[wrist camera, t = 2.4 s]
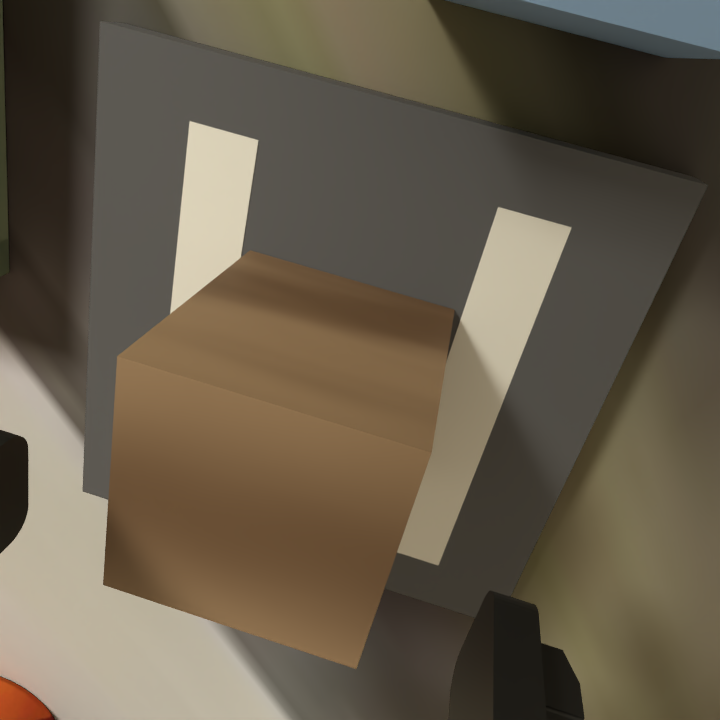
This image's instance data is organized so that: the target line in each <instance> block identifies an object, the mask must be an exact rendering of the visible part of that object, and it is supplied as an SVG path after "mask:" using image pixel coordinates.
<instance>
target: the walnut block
mask: <svg viewBox="0 0 720 720" xmlns="http://www.w3.org/2000/svg"><path fill="white" fill-rule="evenodd" d="M454 311H455V310H454V309H450V308H447V307H444V306H440V305H437V304H433V303H430V302H426V301H423V300H420V299H416V298H413V297H409V296H406V295H402V294H399V293H395V292H392V291H389V290H385V289H382V288H378V287H375V286H371V285H368V284H364V283H361V282H358V281H354V280H351V279H347V278H344V277H340V276H337V275H334V274H330V273H327V272H323V271H320V270H316V269H313V268H309V267H306V266H303V265H299V264H296V263H292V262H289V261H285V260H282V259H279V258H275V257H272V256H268V255H265V254H261V253H258V252H254V251H251V250H250V251H249V252H247V253H246V254H245V255H244V256H242V257H241V258H240V259H239V260H237V261H236V262H235V263H234V264H232V265H231V266H230V267H228V268H227V269H226V270H225V271H223V272H222V273H221V274H220V275H218V276H217V277H216V278H215V279H213V280H212V281H211V282H210V283H208V284H207V285H206V286H205V287H203V288H202V289H201V290H200V291H198V292H197V293H196V294H195V295H193V296H192V297H191V298H190V299H188V300H187V301H186V302H185V303H183V304H182V305H181V306H180V307H178V308H177V309H176V310H175V311H173V312H172V313H171V314H170V315H168V316H167V317H166V318H165V319H163V320H162V321H161V322H160V323H158V324H157V325H156V326H154V327H153V328H152V329H151V330H149V331H148V332H147V333H146V334H144V335H143V336H142V337H141V338H139V339H138V340H137V341H136V342H134V343H133V344H132V345H131V346H129V347H128V348H127V349H126V350H124V351H123V352H122V353H121V354H119V355H118V356H117V368H116V384H115V400H114V417H113V433H112V449H111V466H110V482H109V498H108V515H107V531H106V547H105V564H104V580H103V585H105V586H108V587H111V588H114V589H117V590H120V591H123V592H126V593H129V594H132V595H135V596H138V597H141V598H144V599H147V600H150V601H153V602H156V603H159V604H162V605H165V606H168V607H172V608H175V609H178V610H181V611H184V612H187V613H190V614H193V615H196V616H199V617H202V618H205V619H208V620H211V621H214V622H217V623H220V624H223V625H226V626H229V627H232V628H235V629H238V630H241V631H244V632H247V633H250V634H253V635H256V636H259V637H262V638H265V639H268V640H271V641H274V642H277V643H280V644H283V645H286V646H289V647H292V648H295V649H298V650H301V651H304V652H307V653H310V654H313V655H316V656H319V657H322V658H325V659H328V660H331V661H334V662H337V663H340V664H343V665H346V666H349V667H352V668H355V669H356V668H357V666H358V663H359V660H360V657H361V654H362V651H363V648H364V645H365V643H366V640H367V637H368V634H369V631H370V628H371V625H372V622H373V620H374V617H375V614H376V611H377V608H378V605H379V602H380V600H381V597H382V594H383V591H384V588H385V585H386V582H387V579H388V577H389V574H390V571H391V568H392V565H393V562H394V559H395V556H396V554H397V551H398V548H399V545H400V542H401V539H402V536H403V534H404V531H405V528H406V525H407V522H408V519H409V516H410V513H411V511H412V508H413V505H414V502H415V499H416V496H417V493H418V490H419V488H420V485H421V482H422V479H423V476H424V473H425V470H426V468H427V465H428V462H429V459H430V456H431V453H432V448H433V441H434V435H435V429H436V423H437V416H438V410H439V404H440V398H441V392H442V385H443V379H444V373H445V367H446V361H447V354H448V348H449V342H450V336H451V330H452V323H453V317H454Z"/></svg>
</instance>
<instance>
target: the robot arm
mask: <svg viewBox="0 0 720 720" xmlns="http://www.w3.org/2000/svg"><path fill="white" fill-rule="evenodd" d="M27 511H28V444H27V441H26V440H25V439H24V438H23V437H21V436H18V435H15V434H12V433H9V432H6V431H2V430H0V553H1V552H2V551H3V550H4V549H5V548H6V547H7V546H8V545H10V543H11V542H12V541H13V540H14V539H15V537H16V536H17V535H18V533H19V531H20V530H21V528H22V526H23V524H24V521H25V519H26V515H27ZM448 720H584V712H583V704H582V697H581V689H580V683H579V681H578V679H577V677H576V675H575V673H574V672H573V670H572V668H571V666H570V664H569V662H568V660H567V658H566V656H565V654H564V652H563V650H561V649H558V648H554V647H551V646H548V645H545V644H542V643H541V639H540V626H539V614H538V609H537V607H536V605H534V604H531V603H528V602H525V601H522V600H519V599H516V598H513V597H510V596H506V595H503V594H500V593H497V592H494V591H489V592H488V593H487V594H486V596H485V598H484V600H483V602H482V604H481V606H480V609H479V611H478V613H477V615H476V617H475V620H474V622H473V624H472V626H471V629H470V631H469V633H468V635H467V637H466V640H465V642H464V644H463V646H462V648H461V651H460V653H459V656H458V659H457V662H456V666H455V669H454V674H453V679H452V684H451V692H450V704H449V718H448Z"/></svg>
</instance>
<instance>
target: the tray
mask: <svg viewBox="0 0 720 720" xmlns="http://www.w3.org/2000/svg"><path fill="white" fill-rule="evenodd" d="M7 273H9V237H8V199H7V160H6V122H5V83H4V45H3V6H2V0H0V276H2V275H5V274H7Z"/></svg>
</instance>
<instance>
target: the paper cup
mask: <svg viewBox="0 0 720 720" xmlns="http://www.w3.org/2000/svg"><path fill="white" fill-rule="evenodd" d="M0 720H55V719H54V717H53V716H52V714H51V713H50V711H49V710H48V709H47V708H46V707H45V706H44V704H43V703H42V702H41V701H39V700H38V699H37V698H36V697H35V696H34V695H32V694H31V693H30V692H28V691H27V690H26V689H24V688H22V687H21V686H19V685H17V684H16V683H14V682H12V681H10V680H7V679H5V678H3V677H0Z"/></svg>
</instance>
